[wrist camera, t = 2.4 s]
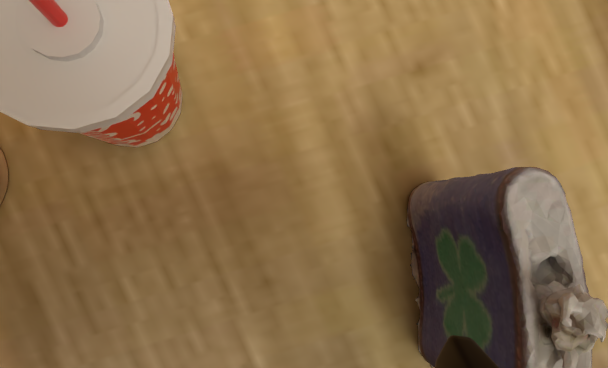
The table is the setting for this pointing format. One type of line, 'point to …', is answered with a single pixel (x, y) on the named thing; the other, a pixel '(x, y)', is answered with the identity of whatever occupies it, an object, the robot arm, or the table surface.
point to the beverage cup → (90, 67)
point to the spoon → (3, 176)
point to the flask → (502, 270)
